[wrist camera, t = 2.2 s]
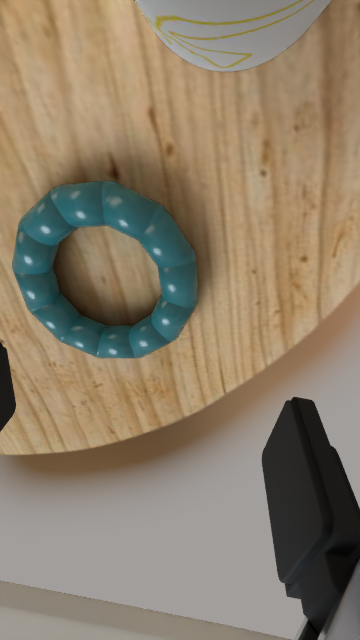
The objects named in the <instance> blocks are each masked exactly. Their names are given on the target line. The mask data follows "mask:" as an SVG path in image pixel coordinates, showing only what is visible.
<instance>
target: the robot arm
mask: <svg viewBox="0 0 360 640" xmlns="http://www.w3.org/2000/svg"><path fill="white" fill-rule="evenodd" d="M15 409H16V402H15V396H14V390H13V384H12V378H11V372H10V366H9V360H8V354H7V349H6V348H5V347H3V345H2V343H1V342H0V432H1V430H2V429H3V428H4V426H5V425H6V424H7V422H8V421H9V420H10V418H11V417H12V415H13V414H14V412H15ZM262 466H263V473H264V481H265V488H266V494H267V501H268V509H269V516H270V523H271V530H272V536H273V544H274V551H275V557H276V565H277V572H278V577H279V580H280V581H281V582H282V583H285V588H286V594H287V597H292V598H298V599H301V602H302V608H303V613H304V615H305V616H306V617H305V619H304V621H303V623H302V625H301V627H300V629H299V631H298V633H297V635H296V637H295V639H294V640H360V508H359V506H358V503H357V501H356V498H355V496H354V493H353V491H352V488H351V486H350V483H349V481H348V478H347V475H346V473H345V470H344V468H343V465H342V462H341V460H340V457H339V455H338V453H337V451H336V449H335V448H334V447H332V446H330V443H329V441H328V438H327V435H326V433H325V430H324V427H323V425H322V422H321V419H320V416H319V414H318V411H317V408H316V406H315V403H314V402H313V401H312V400H308V399H303V398H298V397H293V398H292V400H291V401H289V400H287V401H286V402H285V404H284V407H283V409H282V411H281V413H280V415H279V417H278V420H277V422H276V424H275V426H274V428H273V430H272V433H271V435H270V437H269V439H268V441H267V444H266V446H265V448H264V450H263V454H262ZM0 640H290V639H287V638H282V637H277V636H273V635H269V634H264V633H260V632H255V631H250V630H246V629H241V628H237V627H232V626H227V625H223V624H218V623H213V622H208V621H203V620H198V619H193V618H188V617H183V616H178V615H173V614H168V613H163V612H158V611H153V610H148V609H143V608H138V607H133V606H128V605H123V604H118V603H112V602H107V601H102V600H97V599H92V598H87V597H82V596H77V595H72V594H66V593H61V592H56V591H50V590H46V589H41V588H35V587H30V586H25V585H20V584H15V583H10V582H4V581H0Z"/></svg>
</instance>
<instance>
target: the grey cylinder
mask: <svg viewBox="0 0 360 640" xmlns="http://www.w3.org/2000/svg"><path fill="white" fill-rule="evenodd" d="M330 1H331V0H135V2H136V3H137V5H138V7H139V8H140V10H141V11H142V13H143V15H144V16H145V18H146V20H147V21H148V23H149V24H150V26H151V27H152V29H153V30H154V32H155V33H156V34H157V35H158V37H159V38H160V39H161V40H162V41H163V42H164V43H165V44H166V46H167V47H168V48H170V49H171V50H172V51H173V52H174V53H175V54H177V55H178V56H180V57H181V58H183V59H184V60H186V61H188V62H189V63H191V64H194V65H196V66H198V67H201V68H204V69H208V70H213V71H223V72H230V71H239V70H245V69H249V68H252V67H255V66H258V65H260V64H262V63H265V62H267V61H269V60H271V59H272V58H274V57H276V56H277V55H279V54H280V53H282V52H283V51H285V50H286V49H287V48H288V47H290V46H291V45H292V44H293V43H294V42H296V41H297V40H298V39H299V38H300V37H301V36H302V35H303V34H304V33H305V32H306V31H307V29H308V28H309V27H310V26H311V25H312V24H313V23H314V21H315V20H316V19H317V18H318V16H319V15H320V14H321V13H322V11H323V10H324V9H325V8H326V6H327V5H328V4H329V3H330Z"/></svg>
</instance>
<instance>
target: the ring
mask: <svg viewBox="0 0 360 640" xmlns="http://www.w3.org/2000/svg"><path fill="white" fill-rule="evenodd" d="M94 226H109V227H111V228H113V229H116V230H118V231H120V232H122V233H124V234H126V235H128V236H130V237H132V238H134V239H136V240H138V241H139V242H140V244H141V245H142V246H143V248H144V249H145V250H146V252H147V253H148V254H149V256H150V257H151V258H152V260H153V261H154V262H155V264H156V265H157V266H158V272H159V279H160V286H161V296H160V298H159V300H158V302H157V304H156V306H155V308H154V310H153V312H152V314H151V315H149V316H147V317H146V318H144V319H142V320H140V321H139V322H137V323H135V324H134V325H120V326H106V325H104V324H102V323H100V322H97V321H95V320H93V319H90V318H88V317H86V316H84V315H81V314H80V313H79V312H78V311H77V309H76V308H75V307H74V306H73V305H72V304H71V303H70V302H69V301H68V300H67V299H66V298H65V297H64V295H63V294H62V293H61V291H60V287H59V284H58V281H57V278H56V275H55V271H54V268H53V265H54V261H55V257H56V253H57V249H58V245H59V243H60V242H61V241H62V240H63V239H65V238H66V237H67V236H68V235H70V234H71V233H72V232H73V231H74V230H76V229H77V228H79V227H94ZM12 268H13V272H14V274H15V277H16V280H17V282H18V285H19V287H20V290H21V293H22V295H23V298H24V300H25V303H26V306H27V308H28V310H29V311H30V312H31V313H32V314H33V315H34V316H35V317H36V318H37V319H38V320H39V321H40V322H41V323H42V324H43V325H44V326H45V327H46V328H47V329H48V330H49V331H50V332H51V333H52V334H53V335H54V336H55V337H56V338H57V339H58V340H59V341H61V342H62V343H65V344H67V345H69V346H72V347H74V348H76V349H79V350H81V351H83V352H86V353H88V354H91V355H93V356H95V357H98V358H141V357H144V356H146V355H148V354H150V353H152V352H153V351H155V350H157V349H159V348H161V347H163V346H165V345H167V344H169V343H171V342H172V341H174V340H176V339H177V338H178V337H179V335H180V333H181V332H182V330H183V328H184V326H185V325H186V323H187V321H188V319H189V318H190V316H191V314H192V312H193V311H194V309H195V307H196V305H197V303H198V299H199V294H198V280H197V265H196V254H195V251H194V249H193V247H192V246H191V244H190V243H189V242H188V240H187V239H186V237H185V236H184V234H183V233H182V231H181V230H180V228H179V227H178V225H177V224H176V222H175V221H174V220H173V218H172V217H171V215H170V214H169V212H168V211H167V210H166V208H165V207H163V206H162V205H161V204H159V203H157V202H155V201H153V200H151V199H149V198H147V197H145V196H143V195H141V194H139V193H137V192H135V191H133V190H131V189H129V188H127V187H125V186H123V185H121V184H119V183H117V182H114V181H96V182H85V183H74V184H63V185H59V186H56V187H55V188H53V189H52V190H51V191H50V192H49V193H48V194H46V195H45V196H44V197H43V198H42V199H41V200H40V201H39V202H38V203H37V204H36V205H35V206H34V207H32V208H31V209H30V210H29V211H28V212H27V213H26V214H25V215H24V216H23V217H22V218H21V220H20V222H19V225H18V231H17V237H16V243H15V249H14V255H13V261H12Z"/></svg>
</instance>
